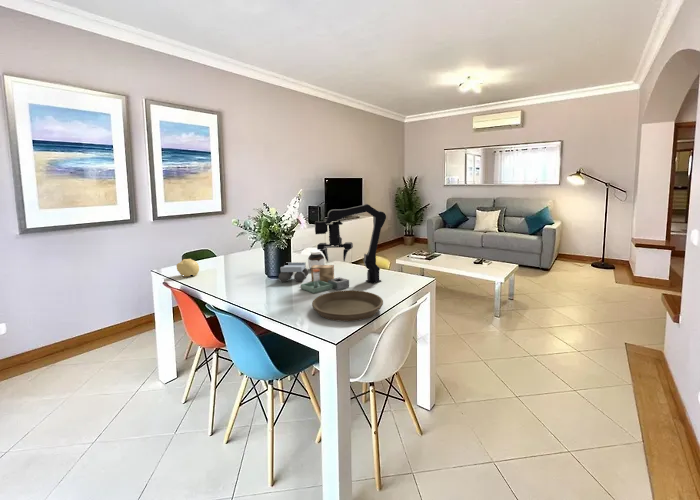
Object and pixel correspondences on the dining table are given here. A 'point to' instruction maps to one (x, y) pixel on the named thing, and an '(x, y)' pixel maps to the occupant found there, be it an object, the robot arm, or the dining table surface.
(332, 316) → the plant saucer
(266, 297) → the dining table surface
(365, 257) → the robot arm
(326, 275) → the block
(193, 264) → the sculpture
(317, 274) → the pin
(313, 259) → the spread jar
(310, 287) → the tray
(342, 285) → the holder
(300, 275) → the trolley
